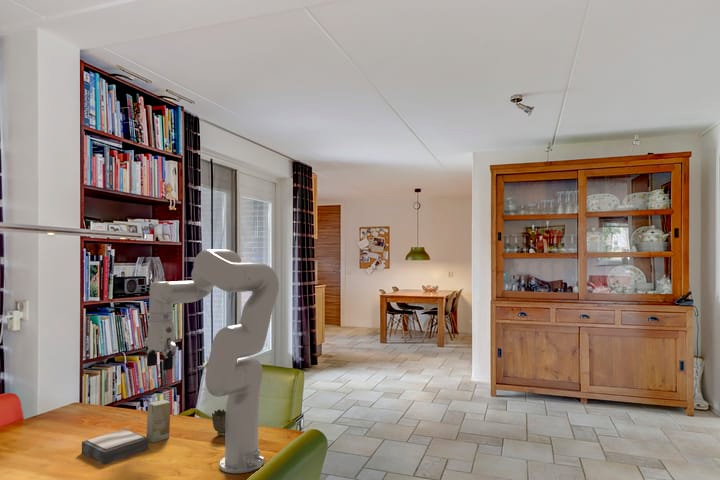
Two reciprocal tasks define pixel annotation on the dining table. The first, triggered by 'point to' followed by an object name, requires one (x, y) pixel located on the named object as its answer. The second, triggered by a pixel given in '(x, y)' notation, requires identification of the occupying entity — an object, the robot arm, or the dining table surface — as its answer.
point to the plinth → (115, 446)
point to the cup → (219, 422)
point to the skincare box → (158, 420)
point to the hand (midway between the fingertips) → (159, 367)
